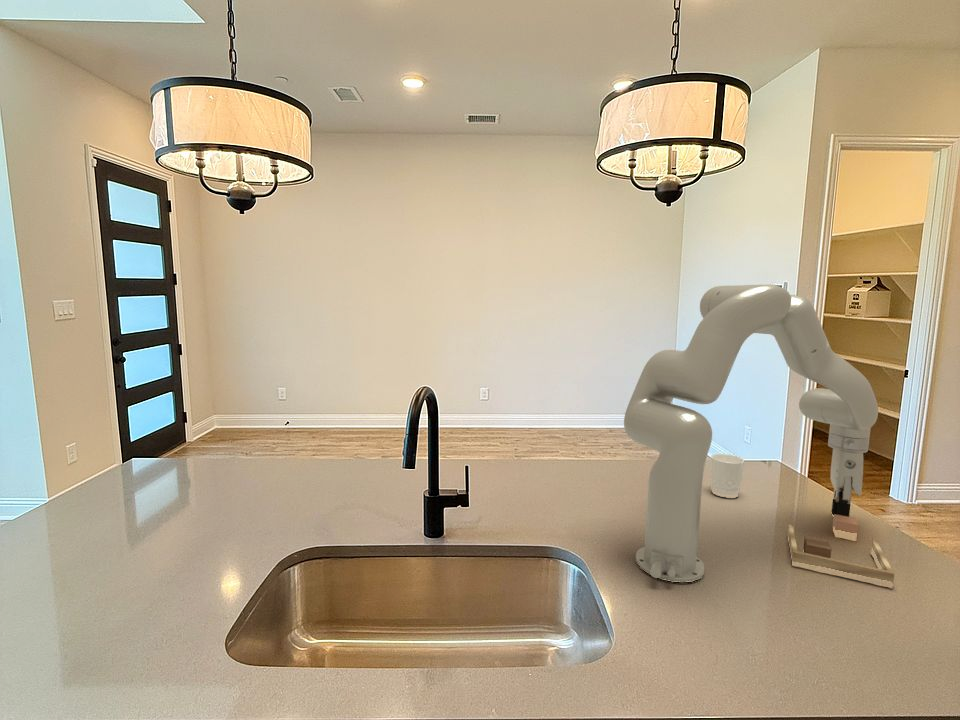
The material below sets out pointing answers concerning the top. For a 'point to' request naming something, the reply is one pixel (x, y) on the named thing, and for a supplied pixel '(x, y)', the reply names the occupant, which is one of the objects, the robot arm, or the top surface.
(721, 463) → the white cup
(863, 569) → the tan u-shaped piece
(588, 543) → the top surface
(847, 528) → the terracotta block
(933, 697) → the top surface
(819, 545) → the walnut block
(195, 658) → the top surface
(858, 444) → the robot arm
